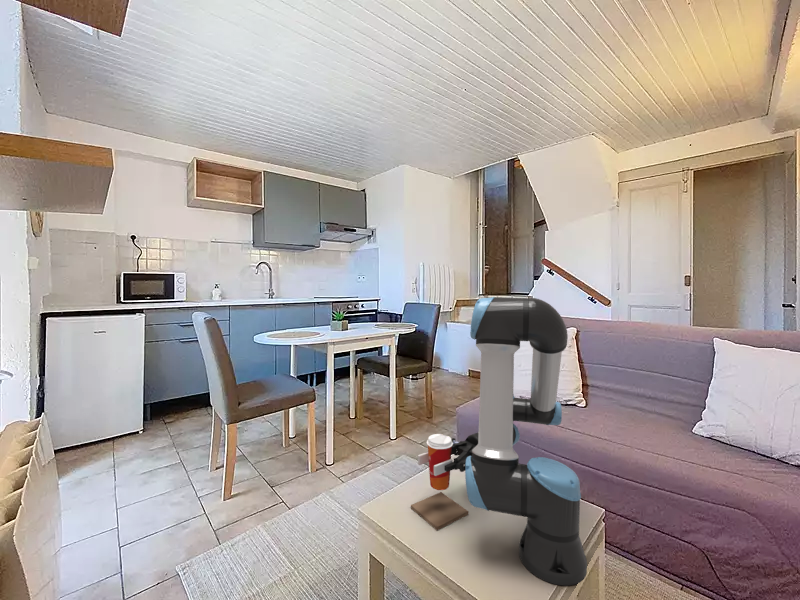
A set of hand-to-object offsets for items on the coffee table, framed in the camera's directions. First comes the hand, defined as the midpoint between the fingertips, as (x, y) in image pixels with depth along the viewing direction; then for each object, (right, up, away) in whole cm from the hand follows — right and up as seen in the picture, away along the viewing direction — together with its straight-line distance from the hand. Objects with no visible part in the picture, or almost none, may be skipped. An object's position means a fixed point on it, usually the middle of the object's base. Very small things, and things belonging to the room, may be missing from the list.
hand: (426, 465), depth 103 cm
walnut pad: (+4, -15, +3) cm, 16 cm away
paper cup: (+4, -8, +3) cm, 9 cm away
